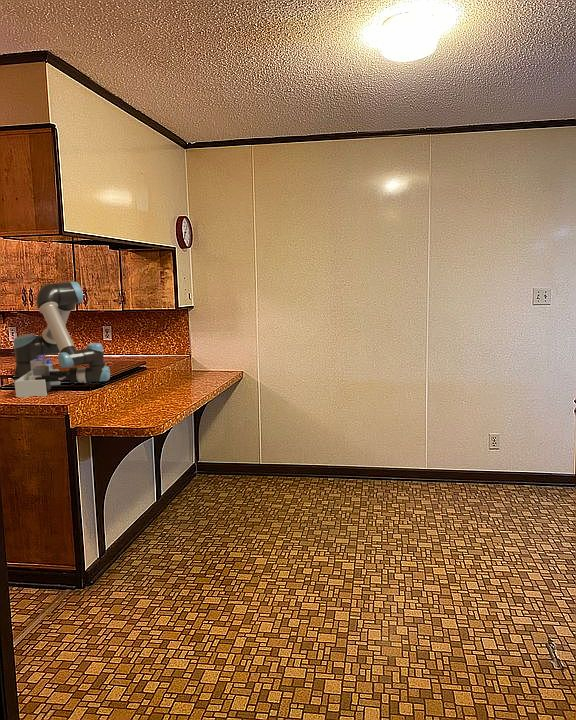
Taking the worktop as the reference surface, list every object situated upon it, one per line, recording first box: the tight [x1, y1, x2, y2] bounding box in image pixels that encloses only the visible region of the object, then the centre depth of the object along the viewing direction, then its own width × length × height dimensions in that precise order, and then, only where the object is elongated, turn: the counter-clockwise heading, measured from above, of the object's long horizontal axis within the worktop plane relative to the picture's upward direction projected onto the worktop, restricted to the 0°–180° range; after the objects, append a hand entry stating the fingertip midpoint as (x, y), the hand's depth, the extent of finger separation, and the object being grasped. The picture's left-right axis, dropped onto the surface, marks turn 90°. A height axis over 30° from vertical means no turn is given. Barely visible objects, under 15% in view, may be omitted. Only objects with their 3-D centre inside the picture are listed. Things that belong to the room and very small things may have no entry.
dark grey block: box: [33, 366, 52, 393], centre depth 316 cm, size 6×6×12 cm
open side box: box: [14, 368, 61, 398], centre depth 316 cm, size 24×14×8 cm, turn 4°
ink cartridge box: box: [30, 355, 54, 371], centre depth 334 cm, size 10×6×14 cm, turn 78°
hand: (31, 377), depth 315 cm, fingers closed on dark grey block, 6 cm apart
